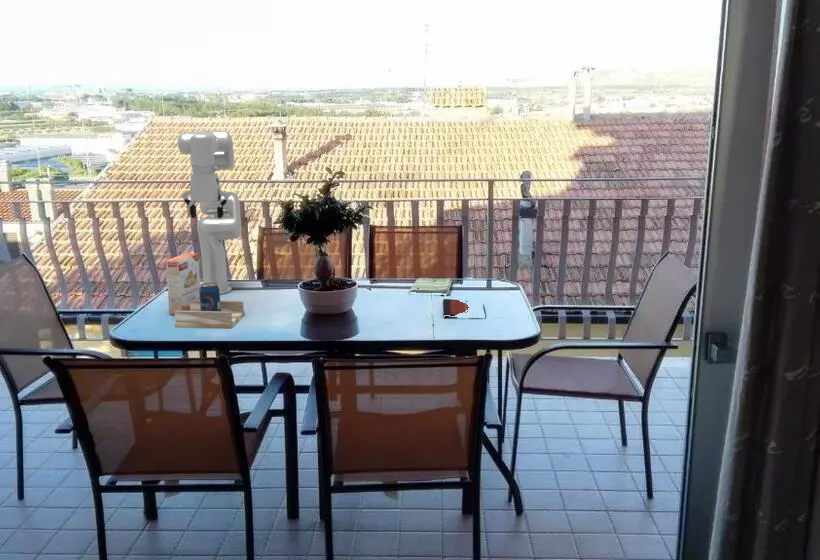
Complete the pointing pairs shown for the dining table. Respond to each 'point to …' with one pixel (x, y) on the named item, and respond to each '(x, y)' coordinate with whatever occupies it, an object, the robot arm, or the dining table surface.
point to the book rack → (210, 315)
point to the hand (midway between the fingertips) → (207, 217)
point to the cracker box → (182, 281)
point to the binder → (453, 307)
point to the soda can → (209, 297)
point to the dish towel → (432, 285)
